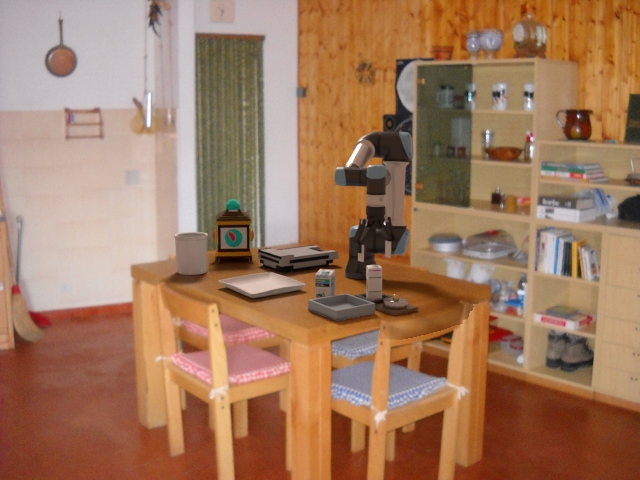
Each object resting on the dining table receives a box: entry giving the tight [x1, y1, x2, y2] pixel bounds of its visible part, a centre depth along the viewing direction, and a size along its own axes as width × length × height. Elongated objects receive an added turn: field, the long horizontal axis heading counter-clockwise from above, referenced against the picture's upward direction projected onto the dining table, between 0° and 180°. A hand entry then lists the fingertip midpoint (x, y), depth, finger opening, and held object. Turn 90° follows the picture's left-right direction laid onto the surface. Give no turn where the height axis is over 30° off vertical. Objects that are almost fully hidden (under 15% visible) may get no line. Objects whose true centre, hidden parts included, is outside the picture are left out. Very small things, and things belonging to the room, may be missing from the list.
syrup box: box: [365, 264, 383, 300], centre depth 304 cm, size 6×6×14 cm
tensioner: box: [353, 292, 419, 317], centre depth 299 cm, size 24×12×6 cm, turn 35°
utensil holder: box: [174, 231, 209, 276], centre depth 353 cm, size 15×15×18 cm
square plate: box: [218, 271, 307, 299], centre depth 324 cm, size 27×27×4 cm
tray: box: [307, 293, 376, 322], centre depth 291 cm, size 18×18×4 cm
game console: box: [257, 244, 339, 274], centre depth 368 cm, size 21×32×8 cm, turn 125°
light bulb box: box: [314, 268, 336, 299], centre depth 310 cm, size 11×7×11 cm, turn 170°
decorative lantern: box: [212, 198, 255, 264], centre depth 378 cm, size 20×20×30 cm
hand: (374, 259), depth 302 cm, fingers open, 13 cm apart
